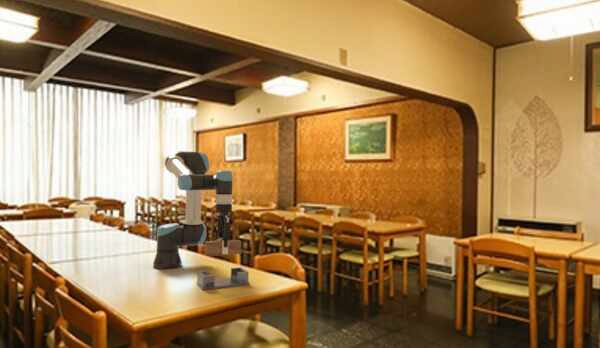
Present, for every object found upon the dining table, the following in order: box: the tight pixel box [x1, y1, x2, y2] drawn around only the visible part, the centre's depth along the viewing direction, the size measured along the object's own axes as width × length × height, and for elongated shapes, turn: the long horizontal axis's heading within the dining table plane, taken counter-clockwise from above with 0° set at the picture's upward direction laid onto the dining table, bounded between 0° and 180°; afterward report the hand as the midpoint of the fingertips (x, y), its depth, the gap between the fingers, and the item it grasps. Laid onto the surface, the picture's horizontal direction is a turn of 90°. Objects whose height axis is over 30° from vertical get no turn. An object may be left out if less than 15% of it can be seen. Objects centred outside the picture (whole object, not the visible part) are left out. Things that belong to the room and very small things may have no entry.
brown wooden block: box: [204, 239, 242, 257], centre depth 186 cm, size 5×16×6 cm, turn 113°
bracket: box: [196, 266, 250, 291], centre depth 186 cm, size 11×22×6 cm, turn 118°
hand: (223, 252), depth 186 cm, fingers closed on brown wooden block, 5 cm apart
